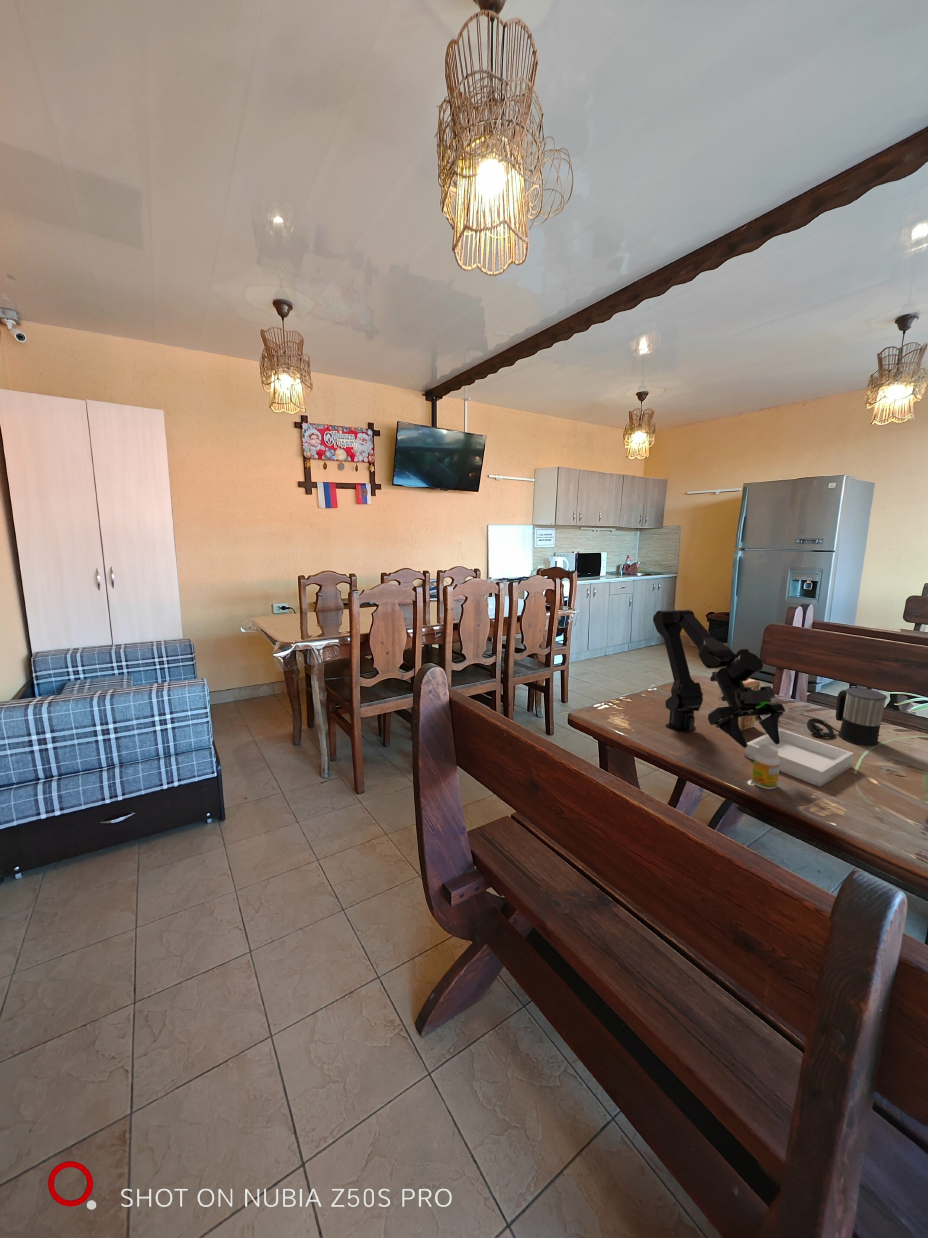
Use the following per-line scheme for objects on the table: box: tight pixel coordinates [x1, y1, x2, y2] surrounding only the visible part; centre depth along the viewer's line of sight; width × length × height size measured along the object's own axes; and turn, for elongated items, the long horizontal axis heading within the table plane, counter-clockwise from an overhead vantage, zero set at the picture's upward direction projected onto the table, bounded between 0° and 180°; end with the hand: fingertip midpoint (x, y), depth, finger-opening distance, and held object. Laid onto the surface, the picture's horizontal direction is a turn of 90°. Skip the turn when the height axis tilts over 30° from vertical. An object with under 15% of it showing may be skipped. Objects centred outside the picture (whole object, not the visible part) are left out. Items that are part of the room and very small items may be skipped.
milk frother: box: [806, 687, 888, 747], centre depth 137 cm, size 14×16×15 cm
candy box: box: [727, 678, 761, 732], centre depth 144 cm, size 9×4×15 cm, turn 116°
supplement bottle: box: [751, 744, 780, 790], centre depth 113 cm, size 5×5×10 cm
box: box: [744, 727, 855, 788], centre depth 124 cm, size 18×18×4 cm
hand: (762, 745), depth 114 cm, fingers open, 9 cm apart
